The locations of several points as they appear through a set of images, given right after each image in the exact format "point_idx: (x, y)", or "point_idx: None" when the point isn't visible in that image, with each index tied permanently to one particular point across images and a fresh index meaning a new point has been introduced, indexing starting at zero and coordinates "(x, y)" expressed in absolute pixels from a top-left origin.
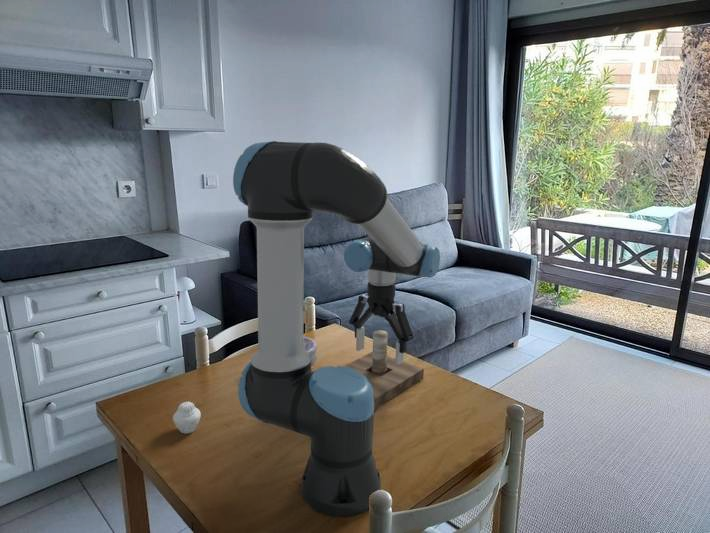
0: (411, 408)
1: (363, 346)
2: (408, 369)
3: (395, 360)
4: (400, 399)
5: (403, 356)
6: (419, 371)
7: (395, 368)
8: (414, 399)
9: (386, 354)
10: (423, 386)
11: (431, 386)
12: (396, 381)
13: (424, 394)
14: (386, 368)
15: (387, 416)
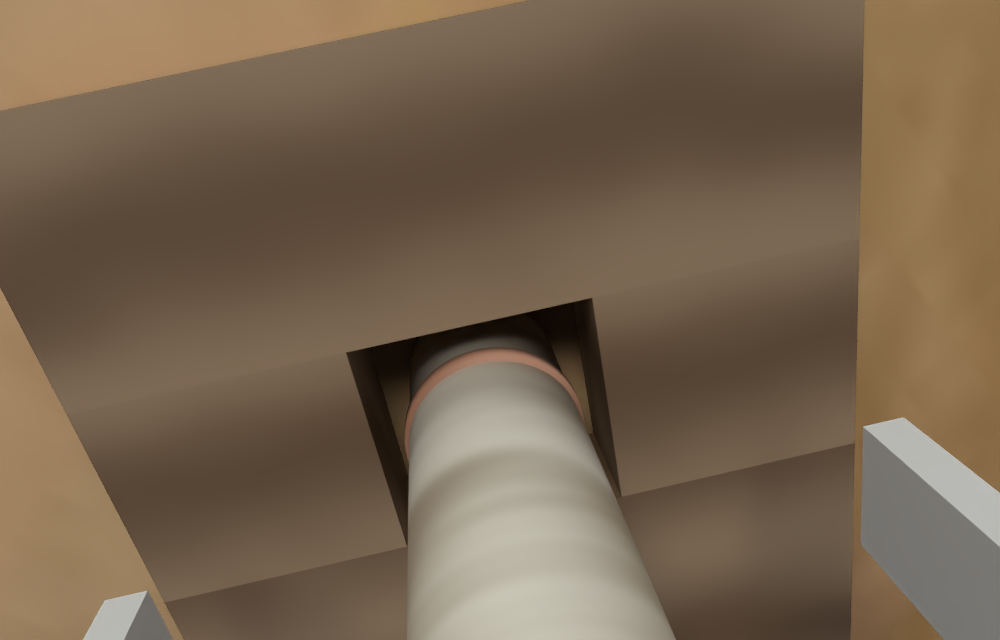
0: (992, 452)
1: (140, 635)
2: (728, 140)
3: (894, 581)
4: (855, 435)
5: (966, 467)
6: (860, 52)
7: (591, 255)
8: (945, 348)
9: (629, 533)
10: (889, 102)
11: (956, 28)
12: (807, 445)
13: (974, 217)
14: (564, 388)
15: (912, 623)
